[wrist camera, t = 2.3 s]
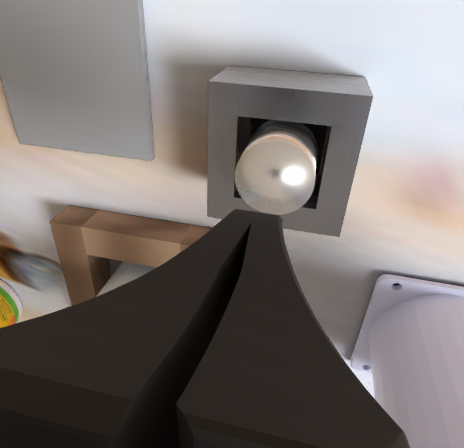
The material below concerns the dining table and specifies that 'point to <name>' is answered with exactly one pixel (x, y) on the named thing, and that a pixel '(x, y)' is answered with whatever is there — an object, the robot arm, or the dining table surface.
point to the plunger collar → (293, 110)
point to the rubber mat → (77, 75)
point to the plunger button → (278, 167)
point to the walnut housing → (113, 245)
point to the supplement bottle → (9, 305)
